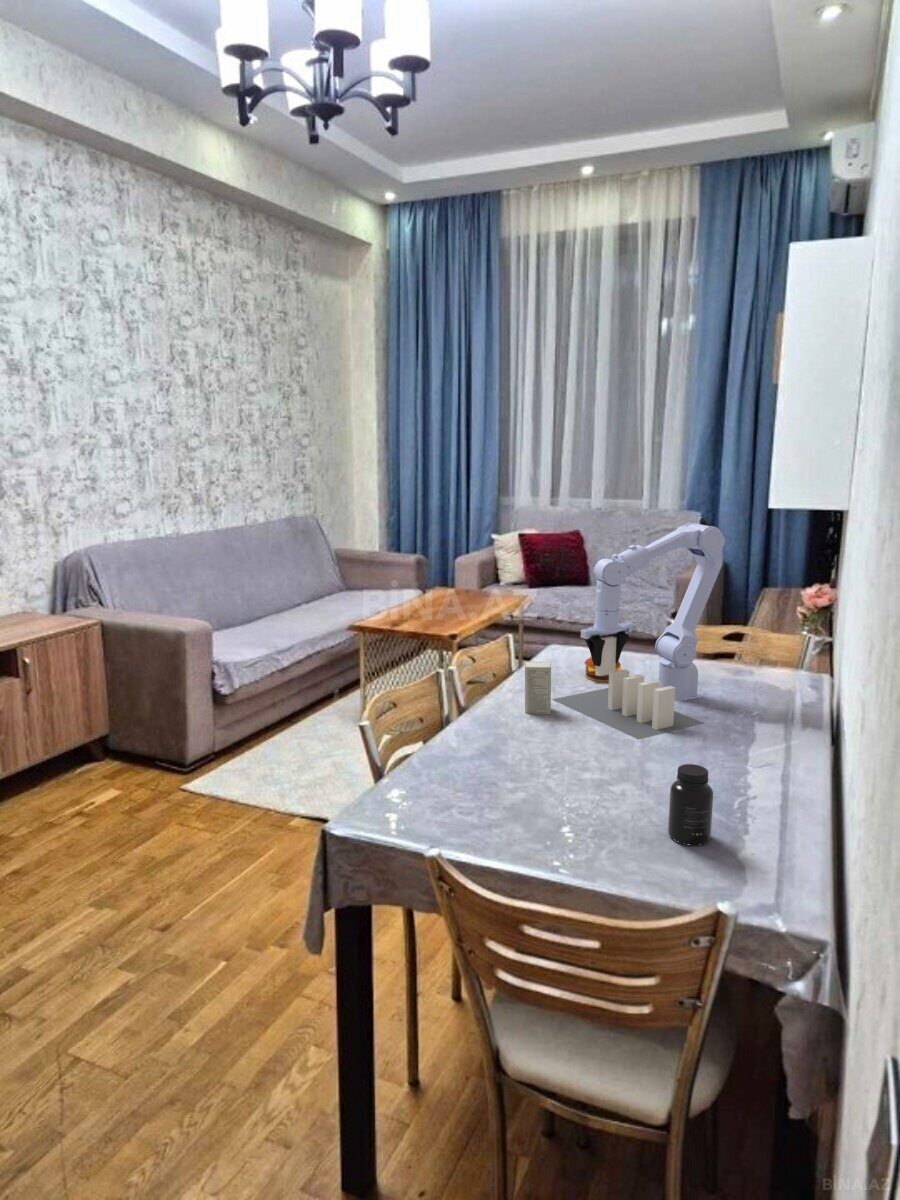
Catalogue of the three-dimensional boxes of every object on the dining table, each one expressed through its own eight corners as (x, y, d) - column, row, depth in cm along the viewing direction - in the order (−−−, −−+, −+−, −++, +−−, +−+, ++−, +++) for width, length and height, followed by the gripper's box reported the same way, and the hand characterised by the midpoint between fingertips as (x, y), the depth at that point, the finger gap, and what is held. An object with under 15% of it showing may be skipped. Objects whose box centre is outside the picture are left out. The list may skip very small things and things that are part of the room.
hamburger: (614, 674, 226) (615, 651, 225) (623, 685, 217) (624, 661, 215) (580, 674, 226) (581, 651, 224) (587, 685, 216) (588, 661, 215)
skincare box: (550, 710, 197) (551, 661, 194) (550, 716, 192) (552, 667, 190) (524, 709, 197) (525, 661, 195) (524, 715, 193) (524, 666, 191)
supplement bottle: (661, 828, 138) (665, 761, 136) (700, 826, 139) (705, 760, 137) (676, 848, 132) (680, 778, 129) (717, 846, 132) (722, 777, 130)
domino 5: (651, 727, 183) (653, 689, 182) (668, 723, 186) (670, 685, 184) (656, 729, 182) (658, 691, 180) (673, 725, 185) (675, 687, 183)
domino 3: (621, 714, 192) (623, 677, 190) (637, 710, 194) (639, 674, 192) (626, 716, 191) (627, 679, 189) (642, 712, 193) (644, 676, 191)
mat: (613, 688, 213) (613, 686, 213) (704, 725, 186) (704, 722, 186) (551, 701, 203) (551, 699, 203) (638, 741, 177) (638, 739, 177)
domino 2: (607, 708, 196) (609, 672, 194) (623, 704, 199) (625, 669, 197) (611, 710, 195) (613, 674, 193) (627, 706, 197) (629, 670, 195)
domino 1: (595, 674, 199) (596, 638, 197) (611, 671, 201) (612, 636, 200) (599, 676, 198) (600, 640, 196) (615, 673, 200) (616, 637, 198)
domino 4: (636, 720, 188) (638, 683, 186) (652, 717, 190) (654, 680, 188) (641, 722, 186) (642, 685, 185) (657, 719, 189) (659, 681, 187)
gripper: (619, 603, 203) (617, 655, 206) (573, 609, 196) (571, 663, 199) (639, 608, 197) (636, 662, 200) (592, 614, 190) (590, 671, 193)
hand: (605, 663), depth 199 cm, fingers closed on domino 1, 5 cm apart
